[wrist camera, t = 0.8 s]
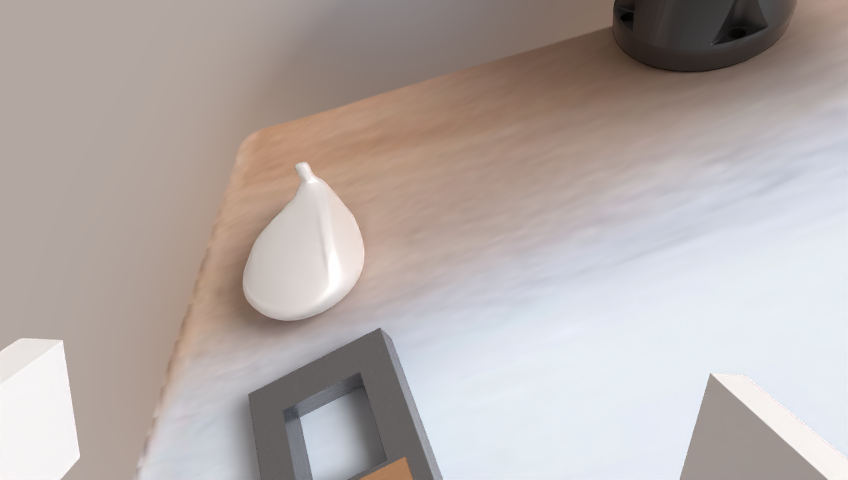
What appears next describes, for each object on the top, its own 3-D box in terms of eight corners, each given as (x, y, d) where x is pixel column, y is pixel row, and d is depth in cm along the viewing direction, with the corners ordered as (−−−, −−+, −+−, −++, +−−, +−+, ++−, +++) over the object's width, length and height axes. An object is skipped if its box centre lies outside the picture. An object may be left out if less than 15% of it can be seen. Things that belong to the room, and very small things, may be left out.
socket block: (266, 401, 39) (246, 393, 37) (391, 338, 38) (378, 326, 36) (293, 560, 32) (271, 562, 30) (445, 485, 32) (434, 482, 30)
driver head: (347, 144, 40) (247, 225, 32) (403, 246, 44) (327, 339, 36) (273, 166, 46) (173, 239, 38) (328, 254, 51) (249, 335, 43)
